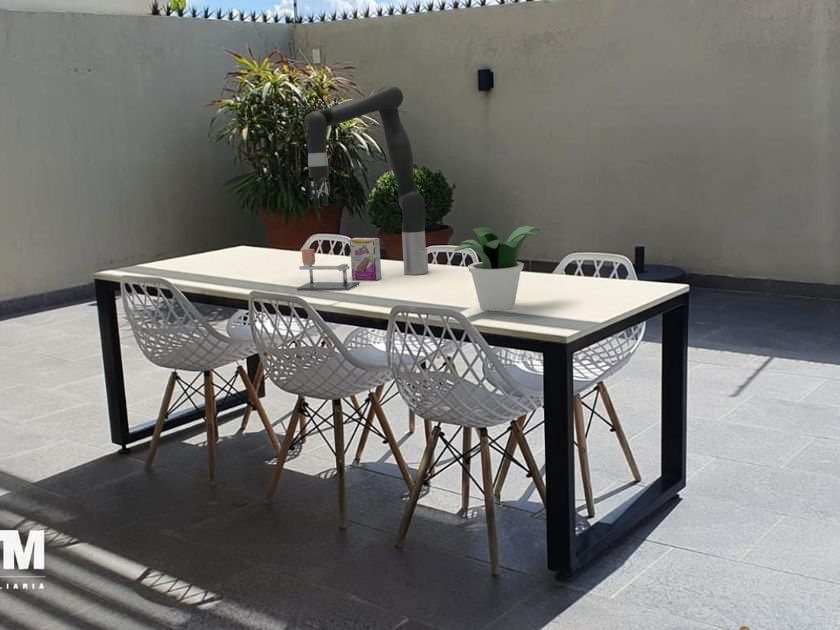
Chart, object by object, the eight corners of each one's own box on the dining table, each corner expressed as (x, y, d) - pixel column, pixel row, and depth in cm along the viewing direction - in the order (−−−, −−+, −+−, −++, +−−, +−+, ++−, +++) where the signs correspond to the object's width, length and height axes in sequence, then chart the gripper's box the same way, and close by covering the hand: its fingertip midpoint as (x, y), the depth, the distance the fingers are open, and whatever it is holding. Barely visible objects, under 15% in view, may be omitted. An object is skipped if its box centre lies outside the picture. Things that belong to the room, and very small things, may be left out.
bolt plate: (359, 284, 380) (358, 261, 378) (348, 290, 369) (346, 266, 367) (309, 284, 386) (308, 262, 384) (297, 290, 375) (295, 267, 373)
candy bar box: (351, 280, 392) (348, 239, 388) (357, 278, 396) (354, 237, 393) (376, 280, 387) (373, 239, 384) (382, 278, 391) (379, 237, 388)
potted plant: (573, 303, 322) (572, 226, 317) (491, 321, 303) (488, 239, 298) (510, 292, 348) (508, 220, 343) (431, 307, 328) (427, 231, 323)
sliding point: (317, 283, 379) (314, 248, 376) (313, 284, 376) (310, 250, 373) (307, 283, 380) (305, 248, 378) (303, 284, 377) (301, 250, 374)
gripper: (320, 165, 371) (323, 208, 374) (334, 163, 384) (337, 204, 388) (301, 166, 373) (305, 209, 377) (316, 163, 387) (319, 205, 390)
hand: (321, 206), depth 382 cm, fingers open, 8 cm apart
